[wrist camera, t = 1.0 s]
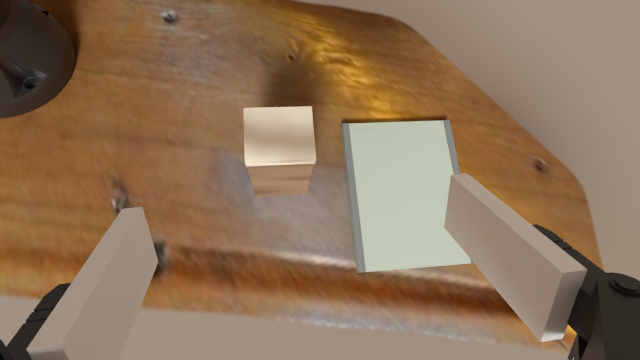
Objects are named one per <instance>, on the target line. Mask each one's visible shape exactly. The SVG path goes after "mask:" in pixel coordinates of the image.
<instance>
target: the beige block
mask: <svg viewBox="0 0 640 360" xmlns="http://www.w3.org/2000/svg"><path fill="white" fill-rule="evenodd" d="M244 145H245V164H246V167H247V168H248V172H249V176H250V179H251V183H252V186H253V190H254V193H255V197H260V196H278V195H296V194H307V190H308V186H309V183H310V179H311V175H312V171H313V167H314V163H315V162H316V150H315V138H314V127H313V115H312V106H301V107H262V108H244Z"/></svg>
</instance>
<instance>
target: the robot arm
mask: <svg viewBox="0 0 640 360" xmlns="http://www.w3.org/2000/svg"><path fill="white" fill-rule="evenodd" d="M74 64H75V48H74V44H73V41H72V39H71V37H70V35H69V34H68V32H67V31H66V30H65V28H64V27H63V26H62V25H61V24H60V22H59V21H58V20H57V19H56V18H55V17H54V16H53V15H52V14H51V13H50V12H48V11H47V10H46V9H44V8H42V7H41V6H39V5H37V4H36V3H33V2H31V1H30V0H0V118H7V117H13V116H17V115H21V114H24V113H27V112H30V111H32V110H34V109H36V108H38V107H40V106H42V105H44V104H45V103H47V102H48V101H49V100H51V99H52V98H53V97H54V96H56V95H57V94H58V93H59V92H60V91H61V89H62V88H63V87H64V86H65V84H66V83H67V81H68V80H69V78H70V76H71V74H72V71H73V68H74ZM444 228H445V229H446V230H447V231H448V233H449V234H450V235H451V236H452V237H453V239H454V240H455V241H456V242H457V243H458V245H459V246H460V247H461V248H462V249H463V250H464V252H465V253H466V254H467V255H468V256H469V258H470V259H471V260H472V261H473V262H474V264H475V265H476V266H477V267H478V268H479V270H480V271H481V272H482V273H483V274H484V275H485V277H486V278H487V279H488V280H489V281H490V283H491V284H492V285H493V286H494V287H495V289H496V290H497V291H498V292H499V293H500V295H501V296H502V297H503V298H504V299H505V301H506V302H507V303H508V304H509V305H510V306H511V308H512V309H513V310H514V311H515V312H516V314H517V315H518V316H519V317H520V318H521V320H522V321H523V322H524V323H525V324H526V326H527V327H528V328H529V329H530V330H531V331H532V333H533V334H534V335H535V336H536V337H537V339H538V340H539V341H540V342H544V341H550V340H556V339H562V338H563V336H564V333H565V330H566V328H567V325H569V326H570V327H571V328H572V329H573V330H574V331H575V332H576V333H577V335H576V338H575V341H574V343H573V346H572V348H571V351H570V354H569V356H568V359H569V360H572V359H573V357H574V360H640V281H638V280H637V279H635V278H632V277H629V276H626V275H624V274H618V273H605V272H604V271H603V270H601V269H600V268H599V267H598V266H596V265H595V264H594V263H592V262H591V261H590V260H588V259H587V258H586V257H585V256H583V255H582V254H581V253H579V252H578V251H577V250H575V249H572V247H571V246H570V245H569V244H568V243H566V242H563V240H562V239H561V238H560V237H558V236H557V235H556V234H554V233H553V232H552V231H550V230H548V229H546V228H543V227H541V226H539V225H537V224H536V225H531V224H530V223H529V222H527V221H526V220H525V219H524V218H522V217H521V216H520V215H519V214H517V213H516V212H515V211H514V210H512V209H511V208H510V207H509V206H507V205H506V204H505V203H504V202H502V201H501V200H500V199H499V198H497V197H496V196H495V195H494V194H492V193H491V192H490V191H489V190H487V189H486V188H485V187H483V186H482V185H481V184H480V183H478V182H477V181H476V180H475V179H473V178H472V177H471V176H470V175H468V174H457V175H451V179H450V186H449V194H448V202H447V209H446V217H445V224H444ZM157 264H158V259H157V256H156V252H155V249H154V245H153V242H152V238H151V235H150V232H149V228H148V225H147V221H146V218H145V214H144V211H143V208H142V207H136V208H127V209H122V210H121V212H120V213H119V214H118V216H117V217H116V219H115V220H114V222H113V223H112V225H111V226H110V228H109V229H108V231H107V232H106V233H105V235H104V236H103V238H102V239H101V241H100V242H99V244H98V245H97V247H96V248H95V249H94V251H93V252H92V254H91V255H90V257H89V258H88V260H87V261H86V263H85V264H84V266H83V267H82V268H81V270H80V271H79V273H78V274H77V276H76V277H75V279H74V280H73V282H72V283H67V284H59V285H58V286H57V287H55V288H54V289H53V290H52V291H50V292H49V293H48V294H47V295H45V296H44V297H43V298H42V300H41V301H40V303H39V304H38V305H37V307H36V308H35V309H34V312H33V313H31V315H30V316H29V317H28V319H27V320H26V323H25V324H23V325H22V327H21V328H20V329H19V331H18V332H17V333H16V335H15V336H14V337H13V339H12V340H11V341H10V343H9V344H8V345H7V347H6V346H5V345H4V343H3V342H2V341H1V340H0V360H119V359H120V356H121V354H122V351H123V348H124V346H125V344H126V341H127V338H128V336H129V334H130V331H131V329H132V326H133V324H134V321H135V319H136V316H137V314H138V311H139V309H140V306H141V304H142V301H143V299H144V296H145V294H146V291H147V289H148V286H149V284H150V281H151V279H152V276H153V274H154V271H155V269H156V266H157Z"/></svg>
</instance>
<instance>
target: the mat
mask: <svg viewBox="0 0 640 360" xmlns="http://www.w3.org/2000/svg"><path fill="white" fill-rule="evenodd" d="M341 132H342V141H343V150H344V159H345V169H346V178H347V187H348V196H349V205H350V215H351V224H352V233H353V242H354V251H355V261H356V270H357V273H360V272H372V271H384V270H396V269H408V268H420V267H432V266H445V265H457V264H469V263H474V262H473V261H472V260H471V259H470V258H469V256H468V255H467V254H466V253H465V252H464V250H463V249H462V248H461V247H460V246H459V245H458V243H457V242H456V241H455V240H454V239H453V237H452V236H451V235H450V234H449V233H448V231H447V230H446V229H445V228H444V224H445V217H446V209H447V202H448V194H449V186H450V179H451V175H457V174H460V170H459V165H458V160H457V155H456V150H455V145H454V140H453V135H452V131H451V126H450V121H449V120H441V121H410V122H378V123H342V126H341Z"/></svg>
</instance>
